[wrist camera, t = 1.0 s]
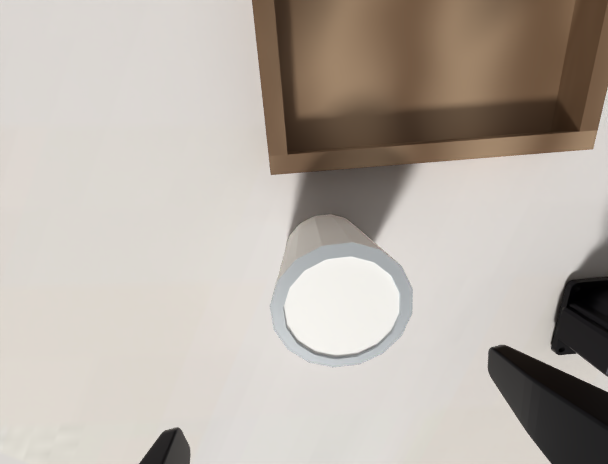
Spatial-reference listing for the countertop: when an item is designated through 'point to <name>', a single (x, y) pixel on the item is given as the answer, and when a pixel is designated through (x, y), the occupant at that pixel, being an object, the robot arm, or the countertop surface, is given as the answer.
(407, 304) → the white cup
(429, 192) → the countertop surface
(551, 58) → the walnut tray
